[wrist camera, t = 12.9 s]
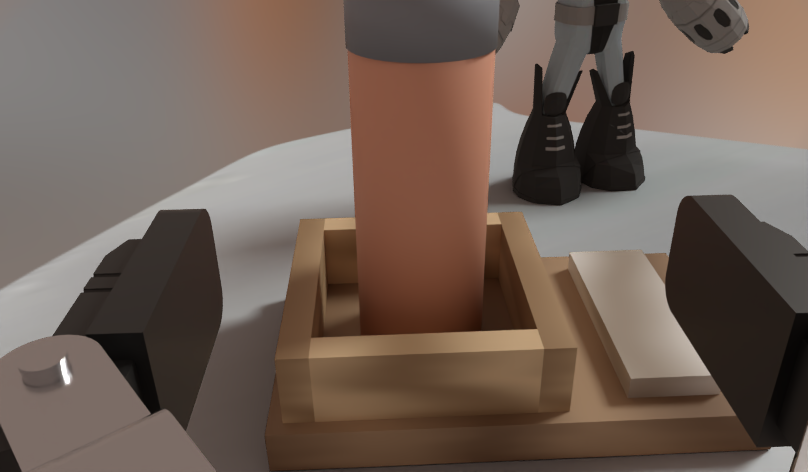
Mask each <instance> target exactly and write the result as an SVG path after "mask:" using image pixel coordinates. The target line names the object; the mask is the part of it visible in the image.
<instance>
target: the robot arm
mask: <svg viewBox="0 0 808 472" xmlns="http://www.w3.org/2000/svg"><path fill="white" fill-rule="evenodd" d="M665 292H666V299H667V303H668V306H669V309H670V311H671V313H672V314H673V316H674V317H675V319H676V321H677V322H678V324H679V325H680V327H681V328H682V330H683V332H684V333H685V335H686V336H687V338H688V340H689V341H690V343H691V344H692V346H693V347H694V349H695V351H696V352H697V354H698V355H699V357H700V359H701V360H702V362H703V363H704V365H705V366H706V368H707V370H708V371H709V373H710V374H711V376H712V378H713V379H714V381H715V382H716V384H717V386H718V387H719V389H720V390H721V392H722V393H723V395H724V397H725V398H726V400H727V401H728V403H729V405H730V406H731V408H732V409H733V411H734V412H735V414H736V416H737V417H738V419H739V420H740V422H741V424H742V425H743V427H744V428H745V430H746V432H747V433H748V435H749V436H750V438H751V439H752V441H753V443H754V444H755V446H756V447H783V446H792V448H793V449H794V451H795V455H794V458H793V461H792V464H791V467H790V470H789V472H808V251H807V250H806V249H805V248H804V247H803V246H802V245H801V244H800V243H799V242H798V241H797V240H796V239H795V238H793V237H792V236H791V235H789V234H787V233H785V232H783V231H781V230H779V229H777V228H775V227H773V226H771V225H769V224H768V223H766V222H760V221H759V220H758V219H757V218H756V217H755V216H754V215H753V214H752V213H751V212H750V211H749V210H748V209H747V208H746V207H745V206H744V205H743V204H742V203H741V202H740V201H739V200H738V199H737V198H736V197H734V196H733V195H702V196H686V197H684V198H683V199H682V201H681V202H680V205H679V208H678V211H677V217H676V222H675V227H674V233H673V238H672V244H671V249H670V254H669V260H668V265H667V271H666V277H665ZM222 309H223V297H222V287H221V280H220V274H219V268H218V262H217V256H216V250H215V243H214V237H213V231H212V225H211V220H210V216H209V214H208V212H207V210H206V209H183V210H160V211H159V212H158V213H157V215H156V216H155V218H154V220H153V221H152V223H151V225H150V227H149V228H148V230H147V232H146V233H145V235H144V237H143V238H142V239H130V240H127V241H126V242H124V243H123V244H121V245H120V246H119V247H117V248H116V249H114V250H113V251H111V252H110V253H109V254H107V255H106V256H105V257H104V259H103V260H102V262H101V263H100V265H99V266H98V268H97V269H96V271H95V272H94V277H91V278H90V280H89V281H88V283H87V284H86V286H85V287H84V293H80V295H79V296H78V298H77V299H76V301H75V303H74V304H73V306H72V307H71V309H70V310H69V312H68V313H67V315H66V316H65V318H64V319H63V321H62V322H61V324H60V325H59V327H58V328H57V330H56V331H55V333H54V334H53V336H51V337H46V338H42V339H38V340H35V341H32V342H30V343H27V344H25V345H22V346H20V347H18V348H16V349H14V350H12V351H11V352H9V353H8V354H6V355H5V356H3V357H2V358H1V359H0V472H216V470H215V469H214V468H213V466H212V465H211V464H210V462H209V461H208V460H207V459H206V457H205V456H204V455H203V453H202V452H201V451H200V450H199V448H198V447H197V446H196V444H195V443H194V442H193V440H192V439H191V438H190V437H189V435H188V434H187V433H186V429H187V425H188V422H189V419H190V416H191V413H192V410H193V407H194V404H195V401H196V398H197V395H198V392H199V389H200V386H201V383H202V379H203V376H204V373H205V370H206V367H207V364H208V361H209V358H210V355H211V352H212V349H213V346H214V343H215V340H216V337H217V333H218V330H219V327H220V324H221V319H222Z"/></svg>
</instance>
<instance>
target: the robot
mask: <svg viewBox="0 0 808 472" xmlns="http://www.w3.org/2000/svg"><path fill="white" fill-rule="evenodd" d="M659 1H660V4H661V7H662V8H663V10H664V11H665V12H666V14H667V16H668V18H669V19H671V21H672V22H673V23H674V25H675V26H676V27H677V28H678V29H679V30H680V31H681V32H682V33H684V35H686V37H687V38H688V39H689V40H690V41H692V42H693V43H694V44H696V45H697V46H698V47H700V48H702V49H704V50H706V51H707V52H710V53H723V54H725V53H728V52H730V51H732V50H733V47H732V46H733V45H734V44H735V43H736V42H737V41H739V40H740V39H741V37H742V36H743V34H747V33H748V29H749V24H748V19H747V16H746V14H745V12H744V9H743V7H742V6H741V5H740V4H739V2H738V1H737V0H659ZM519 7H520V5H519V3H518V0H500V4H499V23H498V42H497V48H496V49H495V55H496V53H497V52H498V51H499V50H500V48H501V46H502V45H503V43H504V42H505V40H506V38H507V36H508V34H509V33H510V31H512V28H513V25H514V22H515V19H516V16H517V13H518V10H519ZM628 7H629V2H628V0H558V2H556V5H555V18H554V20H555V39H556V43H555V46H554V48H553V51H552V54H551V57H550V61H549V64H548V67H547V71H546V74H545V77H544V81H543V84H542V67H540V66H539V65H538V64H535V77H534V99H533V109H532V112H531V114H530V116H529V118H528V120H527V122H526V124H525V127H524V130H523V132H522V135H521V137H520V141H519V144H518V148H517V151H516V157H515V163H514V172H513V191H514V192H515V193H516V195H517V196H518V197H520V198H523V199H525V200H528V201H530V202H533V203H542V204H555V205H562V204H565V203H567V202H569V201H572V200H574V199H576V198H578V197H579V194H580V191H581V185H580V183H581V182H583V183H584V184H586V185H588V186H590V187H594V188H599V189H604V190H610V191H617V190H636V189H637V188H638V187H639V186H640V185H641V184H642V183H643V182H644V181H645V176H644V166H643V160H642V156H641V153H640V150H639V149H638V148H637V147H636V142H635V129H634V123H633V115H632V111H631V106H630V93H631V84H632V75H633V66H634V52H633V51H631V52H628V53H625V56H624V59H623V54H622V43H621V37H622V31H623V27H624V24H625V20H627V15H628ZM586 54H595V59H596V65H597V71H596V70H594V69H591V70H590V76H591V80H592V85H593V90H594V94H595V99H596V102H595V103H594V105H593V107H592V109H591V110H590V112H589V114H588V115H587V117H586V119H585V122H584V124H583V126H582V128H581V131H580V134H579V136H578V139H577V142H576V146H575V149H574V140H573V135H572V131H571V126H570V123H569V120H568V117H567V115H566V110H567V107H568V105H569V102H570V100H571V98H572V95H573V93H574V90H575V88H576V85H577V83H578V81H579V78H580V76H581V73H582V71H579V69H580V67H581V65H582V62H583V60H584V58H585V56H586Z"/></svg>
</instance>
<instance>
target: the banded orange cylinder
mask: <svg viewBox="0 0 808 472" xmlns="http://www.w3.org/2000/svg"><path fill="white" fill-rule="evenodd" d="M499 4H500V0H344V20H345V41H346V48H347V50H348V67H349V69H348V70H349V92H350V113H351V136H352V158H353V180H354V202H355V224H356V246H357V268H358V290H359V312H360V334H361V336H372V335H398V334H424V333H450V332H476V331H481V325H482V306H483V286H484V266H485V246H486V226H487V207H488V187H489V167H490V147H491V127H492V108H493V88H494V66H495V49H496V48H497V42H498V23H499Z"/></svg>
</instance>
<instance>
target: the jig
mask: <svg viewBox="0 0 808 472" xmlns="http://www.w3.org/2000/svg"><path fill="white" fill-rule="evenodd" d="M668 260H669V257H668V256H667V255H666V253H655V254H644V253H643V251H642V250H621V251H593V252H570V254H569V257H543V258H541V257H540V255H539V252H538V250H537V248H536V245H535V243H534V240H533V238H532V235H531V233H530V230H529V228H528V226H527V223H526V221H525V218H524V216H523V213H522V212H502V213H487V226H486V246H485V266H484V286H483V306H482V325H481V331H476V332H450V333H424V334H398V335H372V336H361V334H360V312H359V290H358V268H357V246H356V224H355V218H325V219H300V224H299V229H298V235H297V240H296V246H295V251H294V257H293V262H292V267H291V273H290V278H289V284H288V289H287V294H286V300H285V305H284V311H283V316H282V322H281V327H280V332H279V338H278V343H277V349H276V354H275V359H274V360H275V368H276V374H275V380H274V385H273V391H272V397H271V402H270V408H269V414H268V419H267V425H266V430H265V442H266V449H267V456H268V462H269V469H270V471H285V470H308V469H331V468H354V467H376V466H399V465H422V464H445V463H468V462H491V461H514V460H537V459H560V458H582V457H605V456H628V455H651V454H674V453H697V452H720V451H743V450H766V449H770V448H771V447H756V446H755V444H754V443H753V441H752V439H751V438H750V436H749V435H748V433H747V432H746V430H745V428H744V427H743V425H742V424H741V422H740V420H739V419H738V417H737V416H736V414H735V412H734V411H733V409H732V408H731V406H730V405H729V403H728V401H727V400H726V398H725V397H724V395H723V393H722V392H721V390H720V389H719V387H718V386H717V384H716V382H715V381H714V379H713V378H712V376H711V374H710V373H709V371H708V370H707V368H706V366H705V365H704V363H703V362H702V360H701V359H700V357H699V355H698V354H697V352H696V351H695V349H694V347H693V346H692V344H691V343H690V341H689V340H688V338H687V336H686V335H685V333H684V332H683V330H682V328H681V327H680V325H679V324H678V322H677V321H676V319H675V317H674V316H673V314H672V313H671V311H670V309H669V306H668V303H667V299H666V292H665V277H666V271H667V265H668Z"/></svg>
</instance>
